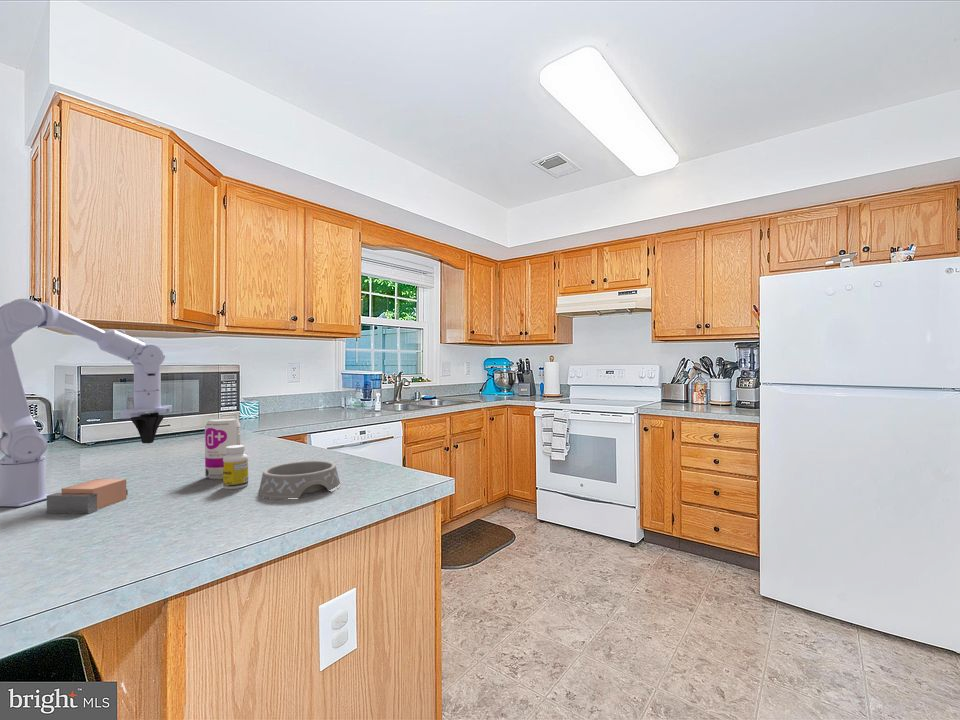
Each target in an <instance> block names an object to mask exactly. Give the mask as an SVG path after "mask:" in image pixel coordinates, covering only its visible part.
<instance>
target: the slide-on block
mask: <svg viewBox="0 0 960 720" xmlns="http://www.w3.org/2000/svg"><path fill="white" fill-rule="evenodd" d="M60 490H61V492H60V493H97V510H99V509H102V508H105V507H108V506H110V504H111V505H114V504H116V502H117V503H119V502H123V501H125V500H127V495H126V490H127V478H126V479H125V478H95V479H92V480H91V479H90V480H88V481H85V482H80V483H77V484H73V485H70V486H67V487H63V488H61V489H60Z"/></svg>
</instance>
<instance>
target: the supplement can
mask: <svg viewBox="0 0 960 720" xmlns="http://www.w3.org/2000/svg"><path fill="white" fill-rule="evenodd" d="M241 429H242V427H241V422H240V420H239V419H238V418H237V417H236V418H235V417H224V418H212V419H208V420H207V422H206V424H205V425H204V459H205V460H204V464H205V465H204V469H205V470H204V473H205V474H204V475H205V477H207V478H208V479H210V480H223V458H224V457H225V456H227V453H226V447H227V446H232V445H242V444H241V443H242V439H241V437H242V436H241V434H242V433H241Z"/></svg>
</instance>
